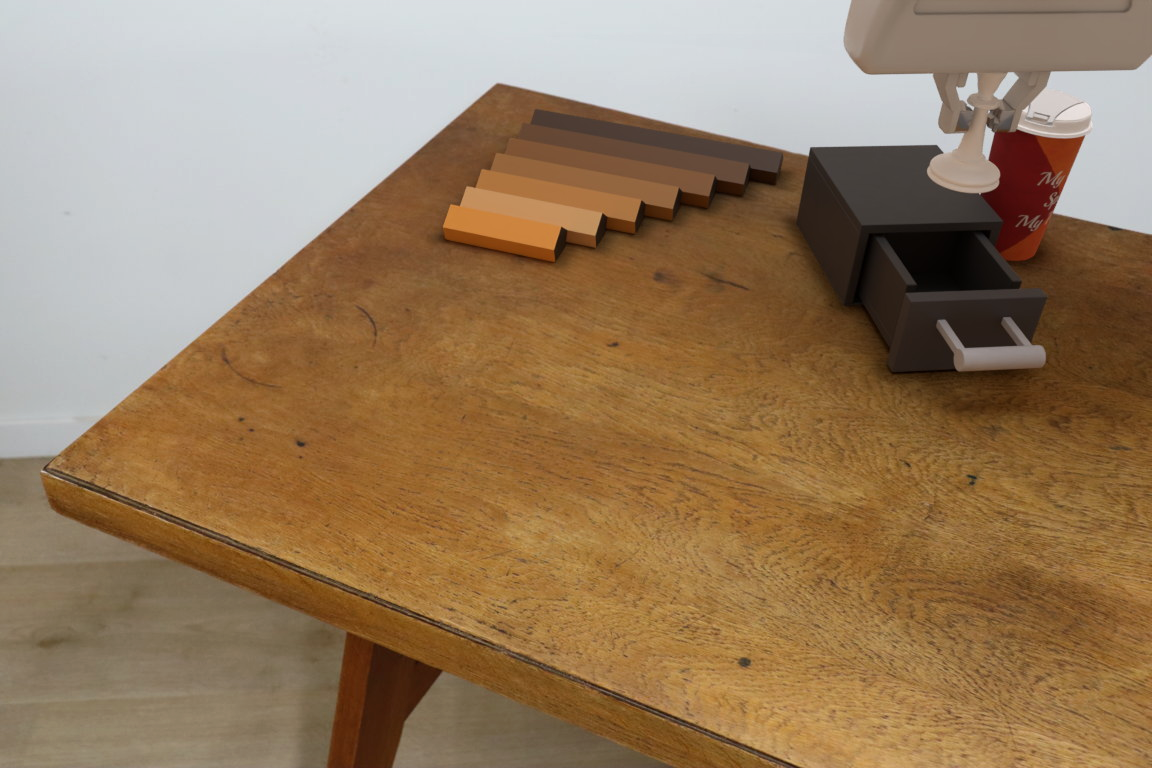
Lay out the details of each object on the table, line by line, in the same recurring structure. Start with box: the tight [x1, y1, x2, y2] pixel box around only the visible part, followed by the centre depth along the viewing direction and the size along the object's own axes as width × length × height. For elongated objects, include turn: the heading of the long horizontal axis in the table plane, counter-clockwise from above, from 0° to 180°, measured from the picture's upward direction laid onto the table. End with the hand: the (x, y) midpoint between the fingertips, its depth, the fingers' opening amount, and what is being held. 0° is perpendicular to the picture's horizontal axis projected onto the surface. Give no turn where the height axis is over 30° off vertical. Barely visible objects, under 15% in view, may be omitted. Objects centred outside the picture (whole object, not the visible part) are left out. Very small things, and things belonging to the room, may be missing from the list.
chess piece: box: [927, 72, 1009, 194], centre depth 75 cm, size 5×5×10 cm
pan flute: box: [442, 108, 784, 263], centre depth 101 cm, size 25×3×25 cm
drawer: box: [856, 230, 1048, 373], centre depth 84 cm, size 18×10×6 cm, turn 7°
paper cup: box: [979, 87, 1094, 262], centre depth 95 cm, size 8×8×14 cm
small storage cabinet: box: [795, 144, 1003, 307], centre depth 94 cm, size 14×12×8 cm
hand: (975, 129), depth 76 cm, fingers closed on chess piece
